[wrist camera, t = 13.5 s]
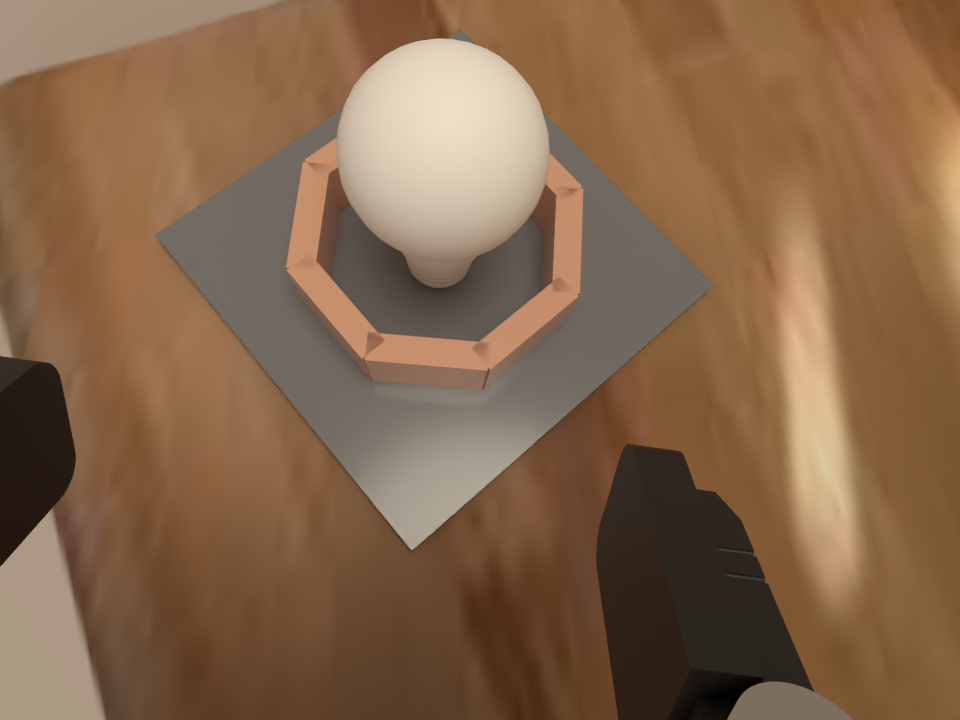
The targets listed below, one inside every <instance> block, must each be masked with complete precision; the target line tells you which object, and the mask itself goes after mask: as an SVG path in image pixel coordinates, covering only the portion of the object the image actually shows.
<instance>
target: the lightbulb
mask: <svg viewBox="0 0 960 720" xmlns="http://www.w3.org/2000/svg"><path fill="white" fill-rule="evenodd" d="M336 159H337V164H338V169H339V174H340V179H341V183H342V187H343V189H344V191H345V194H346V196H347V198H348V200H349V203H350V204H351V206H352V207H353V208H354V210H355V211H356V213H357V214H358V215H359V217H360V218H361V219H362V221H363V222H364V223H365V225H366V226H367V227H368V228H369V229H370V230H371V231H372V232H373V233H374V234H375V235H376V236H377V237H378V238H380V239H381V240H382V241H384V242H385V243H387V244H389V245H390V246H392V247H393V248H395V249H397V250H399V251H401V252H402V253H403V255H404V256H405V258H406V260H407V264H408V267H409V269H410V272H411V273H412V275H413V276H414V277H415V278H416V279H417V280H418V281H419V282H421V283H422V284H424V285H426V286H429V287H433V288H446V287H450V286H453V285H455V284H457V283H458V282H460V281H461V280H462V279H463V278H464V277H465V275H466V274H467V272H468V270H469V268H470V265H471V262H472V261H473V260H474V259H475V258H476V256H478V255H480V254H483V253H486V252H488V251H491V250H492V249H494V248H496V247H497V246H499V245H500V244H502V243H504V242H505V241H507V240H508V239H509V238H510V237H511V236H512V235H513V234H514V233H515V232H516V231H517V230H518V229H519V228H520V227H521V226H522V225H523V224H524V223H525V222H526V221H527V219H528V218H529V216H530V215H531V213H532V212H533V210H534V209H535V207H536V206H537V204H538V201H539V199H540V196H541V194H542V191H543V189H544V186H545V183H546V180H547V175H548V168H549V162H550V155H549V137H548V129H547V126H546V123H545V119H544V116H543V113H542V109H541V106H540V103H539V101H538V100H537V98H536V96H535V94H534V92H533V90H532V88H531V87H530V86H529V85H528V84H527V82H526V81H525V80H524V79H523V78H522V76H521V75H520V74H519V73H518V72H517V71H516V70H515V69H514V68H513V67H512V66H511V65H510V64H509V63H507V62H506V61H505V60H504V59H503V58H501V57H500V56H498V55H496V54H495V53H493V52H491V51H489V50H488V49H486V48H483V47H480V46H477V45H475V44H472V43H469V42H465V41H460V40H454V39H431V40H423V41H417V42H414V43H411V44H408V45H404V46H401V47H399V48H397V49H396V50H394V51H392V52H390V53H388V54H386V55H385V56H384V57H382V58H381V59H380V60H379V61H377V62H376V63H375V64H374V65H373V66H371V67H370V68H369V69H368V70H367V71H366V72H365V73H364V74H363V75H362V77H361V78H360V79H359V80H358V81H357V83H356V84H355V85H354V87H353V89H352V91H351V93H350V95H349V97H348V99H347V101H346V103H345V106H344V108H343V110H342V114H341V118H340V122H339V126H338V132H337V143H336Z"/></svg>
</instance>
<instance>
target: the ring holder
mask: <svg viewBox="0 0 960 720" xmlns="http://www.w3.org/2000/svg"><path fill="white" fill-rule="evenodd" d="M447 39H454V40H460V41H465V42H469V43H472V44H475V43H474V42H473V41H472V40H471V39H470V38H469V37H468V36H467V35H466V34H465V33H464V32H463V31H462V30H461V29H460V30H459V31H457V32H456V33H454V34H453V35H451V36H450V37H448V38H447ZM475 45H476V44H475ZM342 110H343V109H341V110H340V111H338V112H337V113H336V114H334V115H333V116H331V117H330V118H328V119H327V120H325V121H324V122H322V123H321V124H319V125H318V126H316V127H315V128H313V129H312V130H310V131H309V132H307V133H306V134H304V135H303V136H301V137H300V138H298V139H297V140H295V141H294V142H292V143H291V144H289V145H288V146H286V147H285V148H284V149H282V150H281V151H279V152H278V153H276V154H275V155H273V156H272V157H270V158H269V159H267V160H266V161H264V162H263V163H261V164H260V165H258V166H257V167H255V168H254V169H252V170H251V171H249V172H248V173H246V174H245V175H243V176H242V177H240V178H239V179H237V180H236V181H235V182H233V183H232V184H230V185H229V186H227V187H226V188H224V189H223V190H221V191H220V192H218V193H217V194H215V195H214V196H212V197H211V198H209V199H208V200H206V201H205V202H203V203H202V204H200V205H199V206H197V207H196V208H194V209H193V210H191V211H190V212H188V213H187V214H185V215H184V216H183V217H181V218H180V219H178V220H177V221H175V222H174V223H172V224H171V225H169V226H168V227H166V228H165V229H163V230H162V231H160V232H159V233H157V234H156V235H155V236H156V237H157V238H158V239H159V241H160V242H161V243H162V244H163V246H164V247H165V248H166V249H167V250H168V252H169V253H170V254H171V255H172V257H173V258H174V259H175V260H176V261H177V263H178V264H179V265H180V266H181V268H182V269H183V270H184V271H185V273H186V274H187V275H188V276H189V277H190V279H191V280H192V281H193V282H194V284H195V285H196V286H197V287H198V289H199V290H200V291H201V292H202V293H203V295H204V296H205V297H206V298H207V300H208V301H209V302H210V303H211V305H212V306H213V307H214V308H215V309H216V311H217V312H218V313H219V314H220V316H221V317H222V318H223V319H224V320H225V322H226V323H227V324H228V325H229V327H230V328H231V329H232V330H233V332H234V333H235V334H236V335H237V336H238V338H239V339H240V340H241V341H242V343H243V344H244V345H245V346H246V348H247V349H248V350H249V351H250V352H251V354H252V355H253V356H254V357H255V359H256V360H257V361H258V362H259V363H260V365H261V366H262V367H263V368H264V370H265V371H266V372H267V373H268V375H269V376H270V377H271V378H272V379H273V381H274V382H275V383H276V384H277V386H278V387H279V388H280V389H281V391H282V392H283V393H284V394H285V395H286V397H287V398H288V399H289V400H290V402H291V403H292V404H293V405H294V407H295V408H296V409H297V410H298V411H299V413H300V414H301V415H302V416H303V418H304V419H305V420H306V421H307V422H308V424H309V425H310V426H311V427H312V429H313V430H314V431H315V432H316V434H317V435H318V436H319V437H320V438H321V440H322V441H323V442H324V443H325V445H326V446H327V447H328V448H329V450H330V451H331V452H332V453H333V454H334V456H335V457H336V458H337V459H338V461H339V462H340V463H341V464H342V466H343V467H344V468H345V469H346V470H347V472H348V473H349V474H350V475H351V477H352V478H353V479H354V480H355V481H356V483H357V484H358V485H359V486H360V488H361V489H362V490H363V491H364V493H365V494H366V495H367V496H368V497H369V499H370V500H371V501H372V502H373V504H374V505H375V506H376V507H377V509H378V510H379V511H380V512H381V513H382V515H383V516H384V517H385V518H386V520H387V521H388V522H389V523H390V524H391V526H392V527H393V528H394V529H395V531H396V532H397V533H398V534H399V536H400V537H401V538H402V539H403V540H404V542H405V543H406V544H407V545H408V547H409V548H410V549H411V550H412V551H413V550H414V549H415V548H416V547H417V546H418V545H419V544H421V543H422V542H423V541H424V540H425V539H426V538H427V537H428V536H430V535H431V534H432V533H433V532H434V531H435V530H436V529H438V528H439V527H440V526H441V525H442V524H443V523H444V522H446V521H447V520H448V519H449V518H450V517H451V516H452V515H454V514H455V513H456V512H457V511H458V510H459V509H460V508H461V507H463V506H464V505H465V504H466V503H467V502H468V501H469V500H471V499H472V498H473V497H474V496H475V495H476V494H477V493H479V492H480V491H481V490H482V489H483V488H484V487H485V486H486V485H488V484H489V483H490V482H491V481H492V480H493V479H494V478H496V477H497V476H498V475H499V474H500V473H501V472H502V471H504V470H505V469H506V468H507V467H508V466H509V465H510V464H511V463H513V462H514V461H515V460H516V459H517V458H518V457H519V456H521V455H522V454H523V453H524V452H525V451H526V450H527V449H529V448H530V447H531V446H532V445H533V444H534V443H535V442H537V441H538V440H539V439H540V438H541V437H542V436H543V435H544V434H546V433H547V432H548V431H549V430H550V429H551V428H552V427H554V426H555V425H556V424H557V423H558V422H559V421H560V420H562V419H563V418H564V417H565V416H566V415H567V414H568V413H569V412H571V411H572V410H573V409H574V408H575V407H576V406H577V405H579V404H580V403H581V402H582V401H583V400H584V399H585V398H587V397H588V396H589V395H590V394H591V393H592V392H593V391H595V390H596V389H597V388H598V387H599V386H600V385H601V384H602V383H604V382H605V381H606V380H607V379H608V378H609V377H610V376H612V375H613V374H614V373H615V372H616V371H617V370H618V369H620V368H621V367H622V366H623V365H624V364H625V363H626V362H627V361H629V360H630V359H631V358H632V357H633V356H634V355H635V354H637V353H638V352H639V351H640V350H641V349H642V348H643V347H645V346H646V345H647V344H648V343H649V342H650V341H651V340H653V339H654V338H655V337H656V336H657V335H658V334H659V333H660V332H662V331H663V330H664V329H665V328H666V327H667V326H668V325H670V324H671V323H672V322H673V321H674V320H675V319H676V318H678V317H679V316H680V315H681V314H682V313H683V312H684V311H685V310H687V309H688V308H689V307H690V306H691V305H692V304H693V303H695V302H696V301H697V300H698V299H699V298H700V297H701V296H703V295H704V294H705V293H706V292H707V291H708V290H709V289H710V288H711V287H712V286H713V285H712V284H711V283H710V282H709V281H708V280H707V279H706V278H705V277H704V276H703V275H702V274H701V273H700V272H699V271H698V270H697V269H696V267H695V266H694V265H693V264H692V263H691V262H690V261H689V260H688V259H687V258H686V257H685V256H684V255H683V254H682V253H681V252H680V251H679V250H678V249H677V248H676V247H675V246H674V245H673V244H672V243H671V242H670V241H669V240H668V239H667V238H666V237H665V236H664V235H663V234H662V233H661V232H660V231H659V230H658V229H657V228H656V227H655V226H654V225H653V224H652V223H651V222H650V221H649V220H648V219H647V218H646V217H645V216H644V215H643V214H642V213H641V212H640V211H639V210H638V209H637V208H636V207H635V206H634V205H633V204H632V203H631V202H630V200H629V199H628V198H627V197H626V196H625V195H624V194H623V193H622V192H621V191H620V190H619V189H618V188H617V187H616V186H615V185H614V184H613V183H612V182H611V181H610V180H609V179H608V178H607V177H606V176H605V175H604V174H603V173H602V172H601V171H600V170H599V169H598V168H597V167H596V166H595V165H594V164H593V163H592V162H591V161H590V160H589V159H588V158H587V157H586V156H585V155H584V154H583V153H582V152H581V151H580V150H579V149H578V148H577V147H576V146H575V145H574V144H573V143H572V142H571V141H570V140H569V139H568V138H567V137H566V136H565V134H564V133H563V132H562V131H561V130H560V129H559V128H558V127H557V126H556V125H555V124H554V123H553V122H552V121H551V120H550V119H549V118H548V117H547V116H546V115H545V114H544V113H543V112H542V113H543V116H544V119H545V123H546V126H547V129H548V137H549V155H550V162H549V168H548V175H547V180H546V183H545V186H544V189H543V191H542V194H541V196H540V199H539V201H538V204H537V206H536V207H535V209H534V210H533V212H532V213H531V215H530V216H529V218H528V219H527V221H526V222H525V223H524V224H523V225H522V226H521V227H520V228H519V229H518V230H517V231H516V232H515V233H514V234H513V235H512V236H511V237H510V238H509V239H508V240H507V241H505V242H504V243H502V244H500V245H499V246H497V247H496V248H494V249H492V250H491V251H488V252H486V253H483V254H480V255H478V256H476V258H475V259H474V260H473V261H472V262H471V265H470V268H469V270H468V272H467V274H466V275H465V277H464V278H463V279H462V280H461V281H460V282H458V283H457V284H455V285H453V286H450V287H446V288H433V287H429V286H426V285H424V284H422V283H421V282H419V281H418V280H417V279H416V278H415V277H414V276H413V275H412V273H411V272H410V269H409V267H408V264H407V260H406V258H405V256H404V255H403V253H402V252H401V251H399V250H397V249H395V248H393V247H392V246H390V245H389V244H387V243H385V242H384V241H382V240H381V239H380V238H378V237H377V236H376V235H375V234H374V233H373V232H372V231H371V230H370V229H369V228H368V227H367V226H366V225H365V223H364V222H363V221H362V219H361V218H360V217H359V215H358V214H357V213H356V211H355V210H354V208H353V207H352V206H351V204H350V203H349V200H348V198H347V196H346V194H345V191H344V189H343V187H342V183H341V179H340V174H339V169H338V164H337V159H336V143H337V132H338V126H339V122H340V118H341V114H342Z"/></svg>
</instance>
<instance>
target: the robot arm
mask: <svg viewBox="0 0 960 720" xmlns="http://www.w3.org/2000/svg"><path fill="white" fill-rule="evenodd" d="M75 461H76V454H75V448H74V443H73V438H72V433H71V428H70V423H69V418H68V413H67V408H66V403H65V398H64V393H63V388H62V383H61V378H60V375H59V373H58V371H57V369H56V368H55V367H54V366H53V365H52V364H49V363H45V362H38V361H31V360H23V359H16V358H9V357H2V356H0V566H1V565H2V564H3V563H4V562H5V561H6V560H7V558H8V557H9V556H10V555H11V554H12V553H13V552H14V551H15V549H16V548H17V547H18V546H19V545H20V544H21V543H22V541H23V540H24V539H25V538H26V537H27V536H28V535H29V533H30V532H31V531H32V530H33V529H34V528H35V527H36V526H37V524H38V523H39V522H40V521H41V520H42V519H43V518H44V517H45V515H46V514H47V513H48V512H49V511H50V510H51V509H52V508H53V506H54V505H55V504H56V503H57V502H58V501H59V500H60V498H61V497H62V496H63V495H64V493H65V492H66V490H67V488H68V486H69V484H70V482H71V479H72V477H73V473H74V469H75ZM753 553H754V550H753V547H752V545H751V543H750V540H749V538H748V536H747V533H746V531H745V529H744V526H743V524H742V522H741V520H740V519H739V517H738V516H737V515H736V514H735V513H734V512H733V511H732V510H731V509H730V508H729V507H728V506H727V504H726V503H725V502H724V501H723V500H722V499H721V498H720V497H719V496H718V495H717V494H716V492H711V491H704V490H697V489H696V487H695V485H694V482H693V479H692V476H691V474H690V471H689V468H688V465H687V463H686V460H685V457H684V455H683V454H682V452H680V451H675V450H668V449H661V448H653V447H646V446H639V445H631V444H628V445H626V446H625V447H624V449H623V451H622V453H621V456H620V459H619V463H618V466H617V469H616V473H615V476H614V480H613V483H612V486H611V490H610V493H609V496H608V500H607V503H606V506H605V510H604V513H603V516H602V520H601V523H600V527H599V532H598V539H597V552H596V562H597V573H598V580H599V587H600V594H601V601H602V608H603V615H604V622H605V629H606V636H607V643H608V650H609V657H610V664H611V671H612V678H613V685H614V692H615V699H616V706H617V713H618V720H853V719H852V718H851V717H850V716H849V715H848V714H847V713H845V712H844V711H843V710H842V709H841V708H839V707H838V706H837V705H835V704H834V703H832V702H831V701H830V700H828V699H826V698H825V697H823V696H821V695H819V694H818V693H816V692H814V690H813V688H812V686H811V684H810V682H809V679H808V677H807V675H806V672H805V670H804V668H803V665H802V663H801V660H800V658H799V656H798V653H797V651H796V649H795V646H794V644H793V642H792V639H791V637H790V635H789V632H788V630H787V627H786V625H785V623H784V620H783V618H782V616H781V613H780V611H779V609H778V606H777V604H776V602H775V599H774V597H773V595H772V592H771V590H770V587H769V585H768V584H766V583H765V582H764V579H765V576H764V573H763V571H762V569H761V566H760V564H759V562H758V559H757V557H754V556H753Z"/></svg>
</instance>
